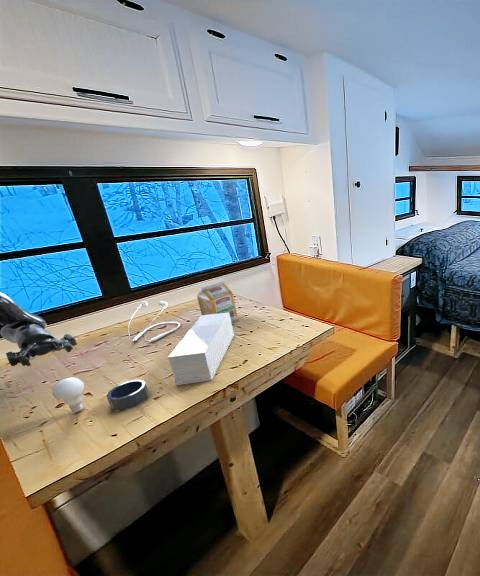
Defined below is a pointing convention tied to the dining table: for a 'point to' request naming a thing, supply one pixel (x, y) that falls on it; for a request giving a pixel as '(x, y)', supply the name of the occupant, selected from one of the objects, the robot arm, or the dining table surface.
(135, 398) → the socket
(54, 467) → the dining table surface
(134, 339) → the earphone
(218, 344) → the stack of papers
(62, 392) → the lightbulb
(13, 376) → the dining table surface
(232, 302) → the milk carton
